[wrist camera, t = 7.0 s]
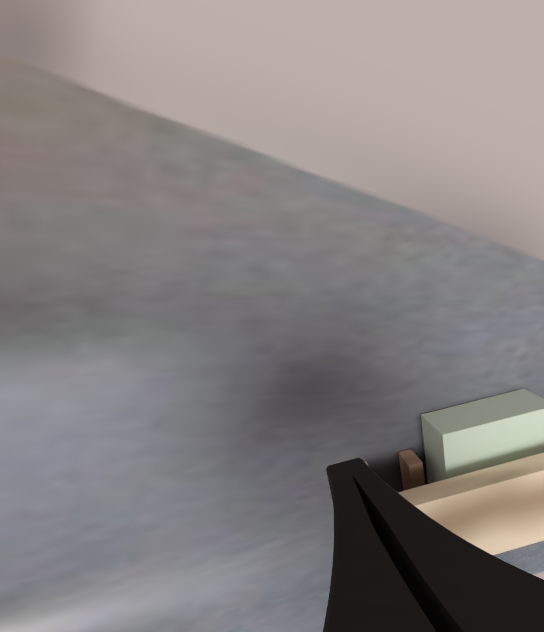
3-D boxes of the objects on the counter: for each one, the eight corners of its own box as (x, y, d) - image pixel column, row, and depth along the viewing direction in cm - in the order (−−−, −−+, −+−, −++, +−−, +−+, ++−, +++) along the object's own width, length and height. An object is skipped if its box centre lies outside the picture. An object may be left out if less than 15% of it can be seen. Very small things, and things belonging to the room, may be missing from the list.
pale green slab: (525, 467, 25) (556, 492, 22) (429, 493, 24) (450, 521, 22) (523, 388, 23) (556, 405, 21) (420, 414, 23) (442, 434, 20)
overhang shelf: (594, 459, 25) (668, 504, 21) (357, 525, 24) (383, 586, 20) (596, 399, 24) (676, 433, 20) (346, 465, 23) (371, 517, 19)
